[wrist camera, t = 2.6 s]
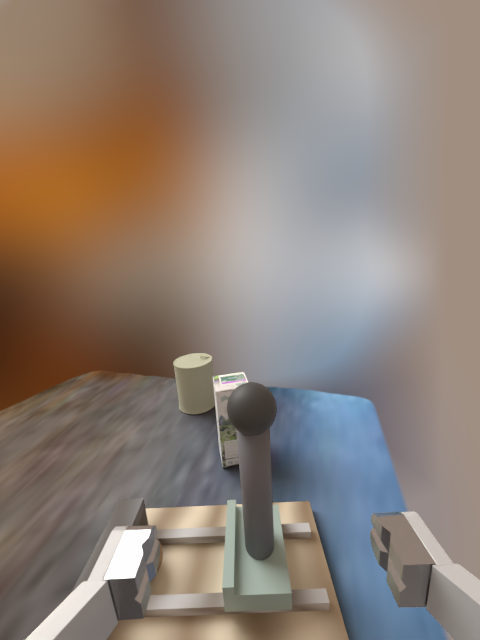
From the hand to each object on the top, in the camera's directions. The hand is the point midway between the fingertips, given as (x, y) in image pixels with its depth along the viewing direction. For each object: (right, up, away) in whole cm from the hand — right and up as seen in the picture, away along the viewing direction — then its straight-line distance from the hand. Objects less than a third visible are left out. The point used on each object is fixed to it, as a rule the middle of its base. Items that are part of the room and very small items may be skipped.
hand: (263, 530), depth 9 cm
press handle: (+1, -17, +16) cm, 24 cm away
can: (-11, -13, +51) cm, 54 cm away
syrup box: (-2, -16, +34) cm, 38 cm away
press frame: (-5, -20, +17) cm, 27 cm away
